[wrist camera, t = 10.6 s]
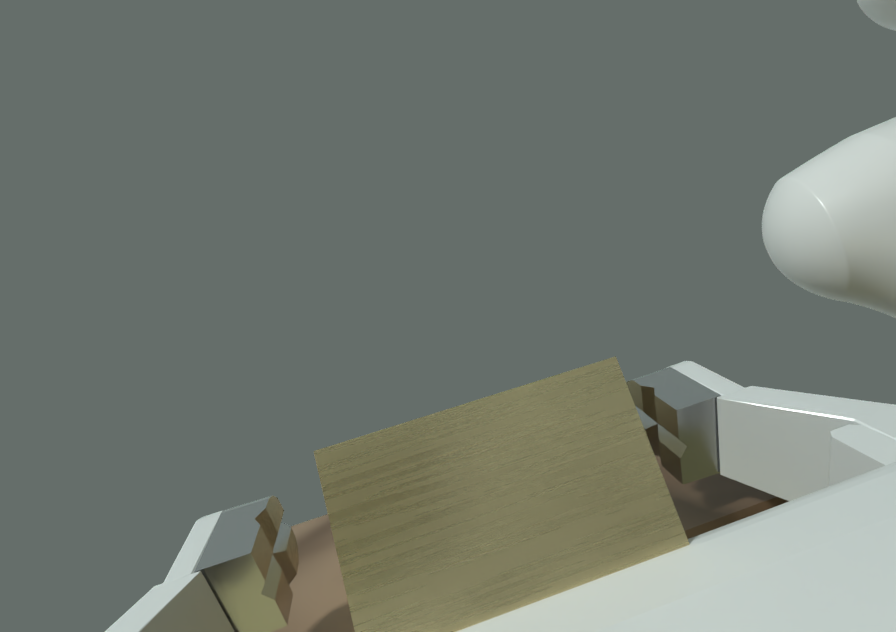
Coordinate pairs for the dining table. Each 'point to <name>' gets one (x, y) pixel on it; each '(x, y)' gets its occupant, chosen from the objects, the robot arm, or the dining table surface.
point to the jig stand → (323, 592)
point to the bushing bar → (496, 503)
